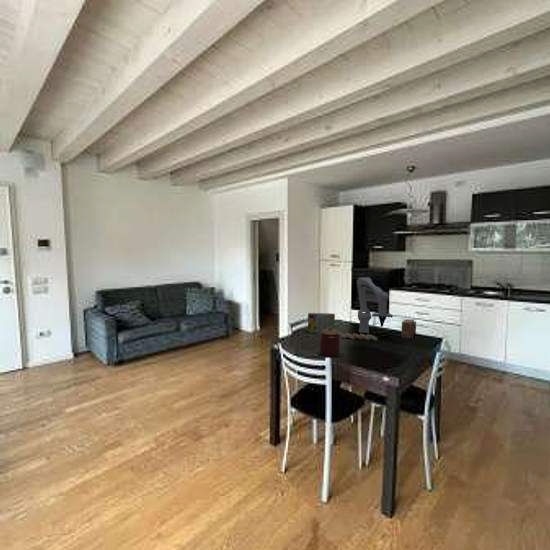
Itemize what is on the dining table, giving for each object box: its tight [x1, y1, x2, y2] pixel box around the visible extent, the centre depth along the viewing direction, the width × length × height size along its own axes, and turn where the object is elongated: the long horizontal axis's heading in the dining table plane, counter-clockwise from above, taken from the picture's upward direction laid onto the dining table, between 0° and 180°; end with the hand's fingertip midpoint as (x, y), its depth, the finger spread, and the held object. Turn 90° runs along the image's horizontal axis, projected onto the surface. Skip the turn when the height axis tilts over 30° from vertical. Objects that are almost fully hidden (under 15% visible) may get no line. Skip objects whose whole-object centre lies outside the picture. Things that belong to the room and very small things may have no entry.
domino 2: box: [344, 332, 356, 340], centre depth 252 cm, size 5×2×7 cm
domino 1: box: [337, 330, 347, 339], centre depth 254 cm, size 5×2×7 cm
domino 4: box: [366, 333, 378, 342], centre depth 248 cm, size 5×2×7 cm
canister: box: [319, 327, 341, 357], centre depth 216 cm, size 13×13×18 cm
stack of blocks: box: [400, 318, 417, 339], centre depth 262 cm, size 21×6×12 cm, turn 146°
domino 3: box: [359, 332, 371, 341], centre depth 249 cm, size 5×2×7 cm
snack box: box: [307, 312, 336, 334], centre depth 269 cm, size 21×6×15 cm, turn 84°
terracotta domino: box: [352, 332, 363, 341], centre depth 251 cm, size 5×2×7 cm
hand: (381, 326), depth 251 cm, fingers closed
